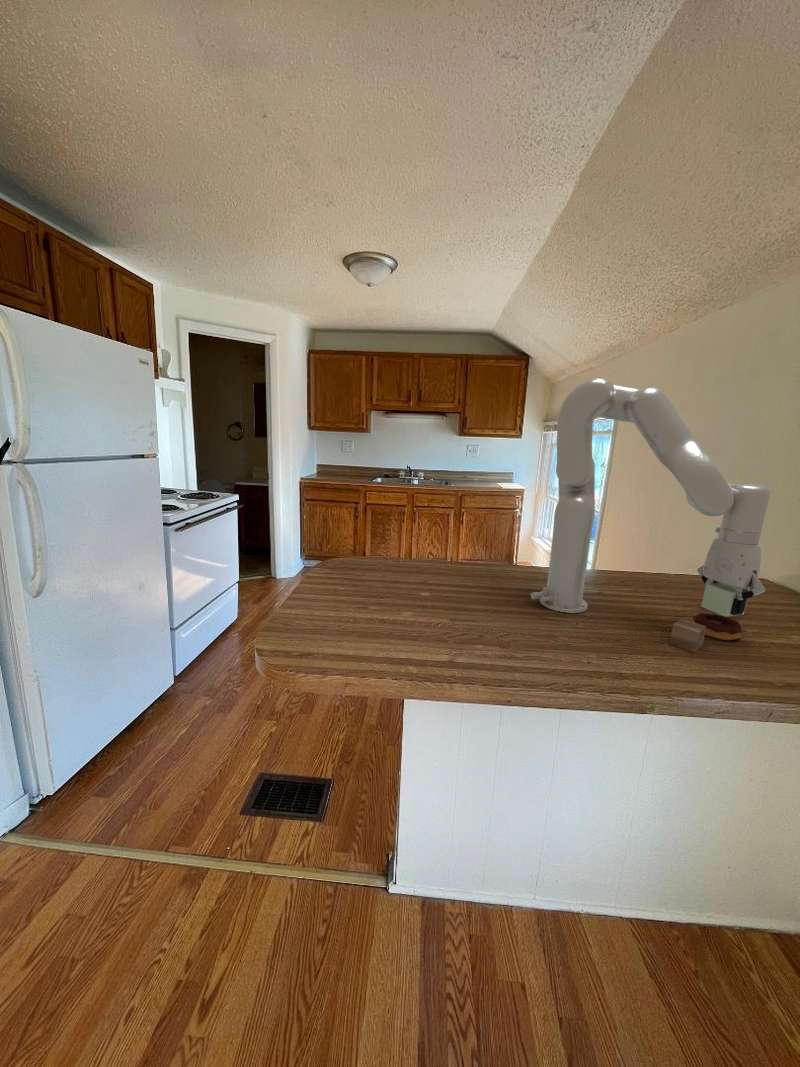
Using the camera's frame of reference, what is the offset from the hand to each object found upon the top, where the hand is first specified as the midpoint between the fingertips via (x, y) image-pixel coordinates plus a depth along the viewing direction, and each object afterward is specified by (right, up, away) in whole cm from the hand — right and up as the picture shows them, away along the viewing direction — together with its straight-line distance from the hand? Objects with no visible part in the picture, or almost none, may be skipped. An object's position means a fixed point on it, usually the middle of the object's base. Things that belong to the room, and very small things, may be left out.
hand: (722, 607), depth 104 cm
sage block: (0, -1, 0) cm, 1 cm away
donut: (-1, -7, +2) cm, 7 cm away
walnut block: (-13, -8, -5) cm, 16 cm away
